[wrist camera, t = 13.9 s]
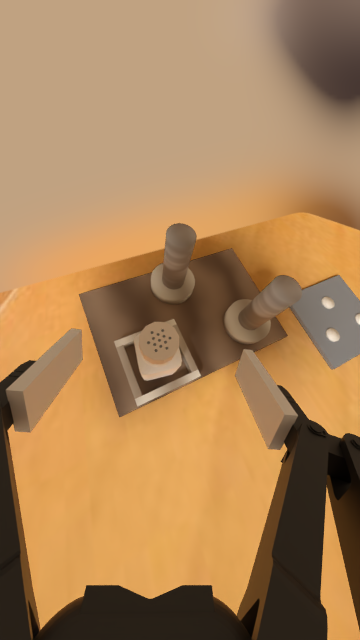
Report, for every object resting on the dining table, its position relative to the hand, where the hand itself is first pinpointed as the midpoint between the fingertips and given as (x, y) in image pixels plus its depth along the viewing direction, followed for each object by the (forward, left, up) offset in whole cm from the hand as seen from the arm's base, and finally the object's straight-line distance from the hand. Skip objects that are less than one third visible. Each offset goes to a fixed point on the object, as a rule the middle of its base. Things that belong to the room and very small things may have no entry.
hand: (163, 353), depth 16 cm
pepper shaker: (-1, +1, -8) cm, 9 cm away
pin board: (+2, +8, -9) cm, 12 cm away
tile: (+25, +13, -9) cm, 30 cm away
